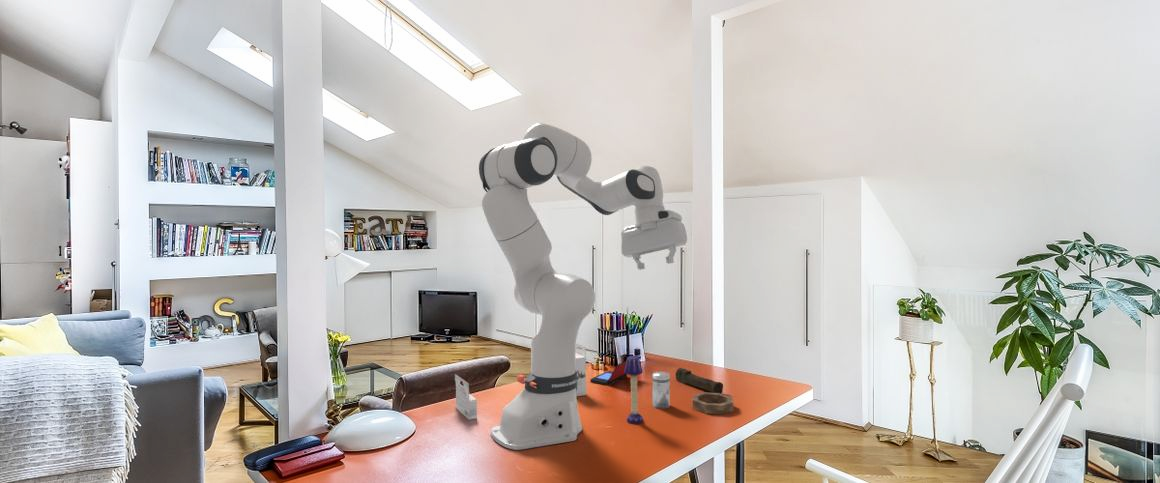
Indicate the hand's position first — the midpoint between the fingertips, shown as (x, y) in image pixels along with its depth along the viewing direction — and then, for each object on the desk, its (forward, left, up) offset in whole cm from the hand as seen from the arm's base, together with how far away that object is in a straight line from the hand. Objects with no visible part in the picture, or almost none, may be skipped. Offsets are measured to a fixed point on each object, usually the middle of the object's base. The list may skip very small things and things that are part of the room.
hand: (655, 266), depth 149 cm
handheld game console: (+3, +25, -40) cm, 47 cm away
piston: (-1, -3, -39) cm, 39 cm away
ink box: (-15, +21, -39) cm, 47 cm away
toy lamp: (-15, -8, -39) cm, 43 cm away
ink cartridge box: (-49, +22, -40) cm, 66 cm away
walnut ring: (+10, -12, -39) cm, 42 cm away
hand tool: (+20, +4, -40) cm, 45 cm away
